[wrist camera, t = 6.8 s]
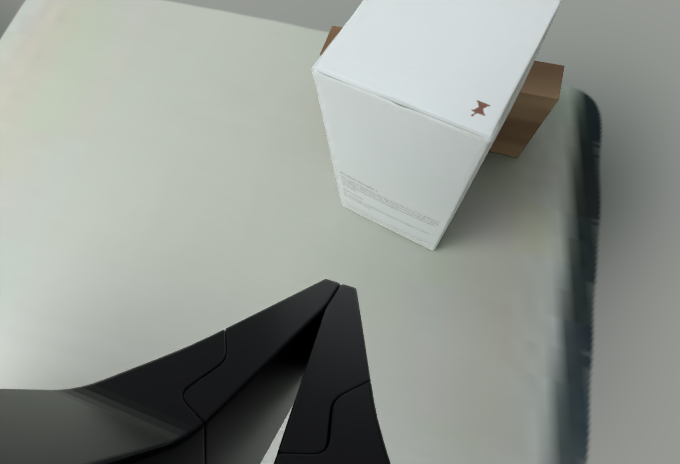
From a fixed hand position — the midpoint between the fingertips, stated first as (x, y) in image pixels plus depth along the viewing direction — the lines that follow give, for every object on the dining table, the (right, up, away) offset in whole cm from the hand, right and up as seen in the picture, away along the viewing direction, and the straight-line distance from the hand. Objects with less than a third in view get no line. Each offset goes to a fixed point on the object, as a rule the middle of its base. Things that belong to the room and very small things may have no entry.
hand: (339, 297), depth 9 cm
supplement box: (+5, +5, +16) cm, 18 cm away
